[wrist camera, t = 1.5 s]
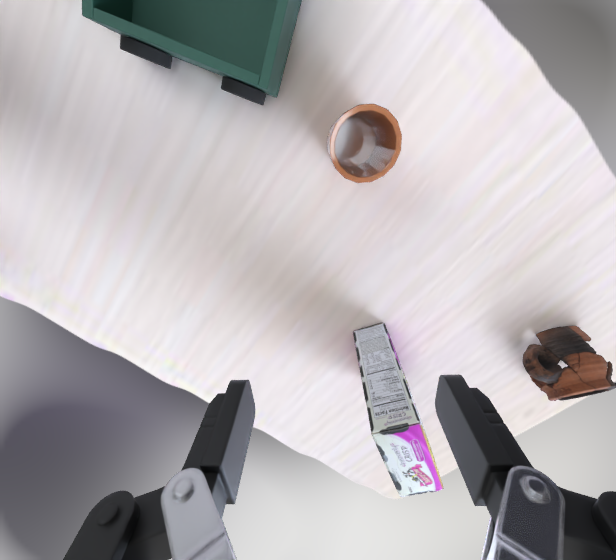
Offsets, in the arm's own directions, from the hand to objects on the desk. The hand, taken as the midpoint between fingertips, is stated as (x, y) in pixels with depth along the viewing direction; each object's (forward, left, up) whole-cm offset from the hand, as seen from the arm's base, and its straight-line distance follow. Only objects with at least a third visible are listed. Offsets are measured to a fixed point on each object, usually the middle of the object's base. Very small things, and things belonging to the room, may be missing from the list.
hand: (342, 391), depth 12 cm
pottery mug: (+36, -7, -25) cm, 45 cm away
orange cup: (-1, +9, -25) cm, 27 cm away
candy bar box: (+14, -16, -25) cm, 33 cm away
